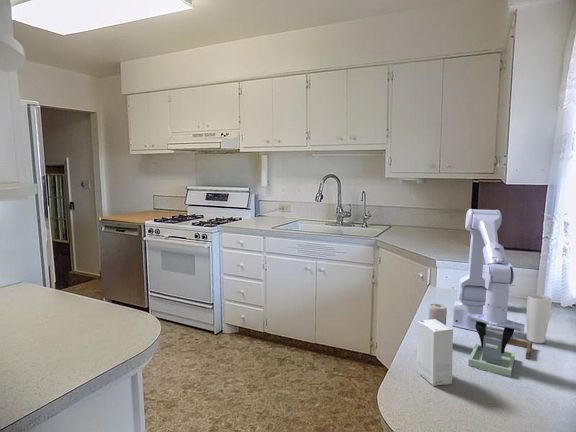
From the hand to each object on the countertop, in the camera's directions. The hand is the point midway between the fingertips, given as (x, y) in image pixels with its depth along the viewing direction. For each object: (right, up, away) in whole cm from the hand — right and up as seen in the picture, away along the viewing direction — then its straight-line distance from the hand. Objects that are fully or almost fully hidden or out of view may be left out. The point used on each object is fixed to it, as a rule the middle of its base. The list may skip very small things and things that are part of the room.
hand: (492, 349), depth 112 cm
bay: (+10, -3, +9) cm, 14 cm away
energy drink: (-11, -2, +14) cm, 18 cm away
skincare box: (-21, -5, -8) cm, 23 cm away
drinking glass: (+23, -3, +16) cm, 28 cm away
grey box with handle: (0, -2, 0) cm, 3 cm away
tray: (0, -4, 0) cm, 4 cm away
